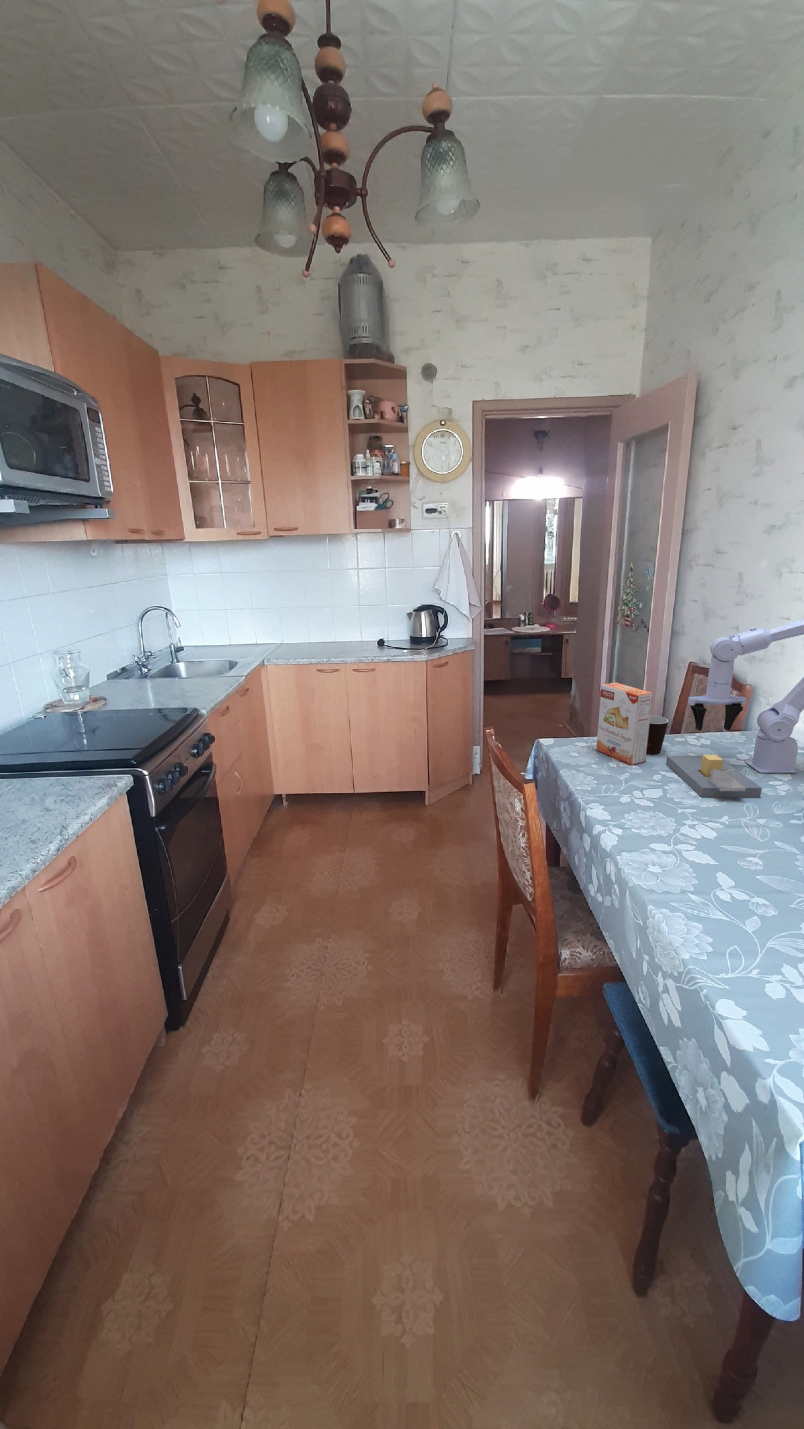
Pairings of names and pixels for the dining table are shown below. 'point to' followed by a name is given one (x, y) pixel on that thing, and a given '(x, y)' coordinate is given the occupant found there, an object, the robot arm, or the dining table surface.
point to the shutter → (725, 780)
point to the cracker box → (624, 722)
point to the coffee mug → (656, 734)
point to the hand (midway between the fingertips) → (712, 729)
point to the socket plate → (699, 783)
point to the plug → (710, 764)
